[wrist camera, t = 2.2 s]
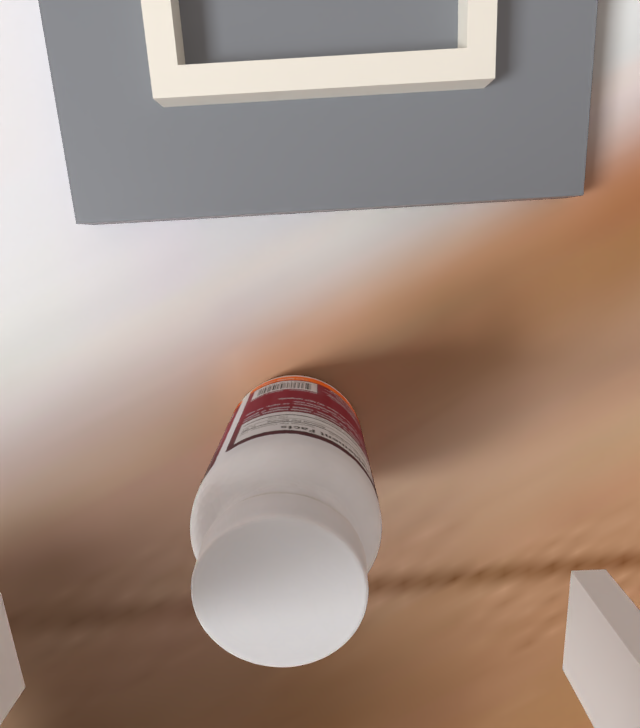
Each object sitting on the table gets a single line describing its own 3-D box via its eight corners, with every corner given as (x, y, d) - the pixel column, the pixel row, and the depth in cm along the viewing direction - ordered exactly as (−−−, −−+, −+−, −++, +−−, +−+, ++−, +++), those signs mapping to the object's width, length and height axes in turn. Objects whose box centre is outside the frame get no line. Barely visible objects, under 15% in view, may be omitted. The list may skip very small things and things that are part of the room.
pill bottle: (299, 516, 25) (284, 730, 14) (204, 436, 23) (108, 603, 13) (388, 430, 23) (446, 593, 13) (292, 343, 22) (268, 440, 12)
